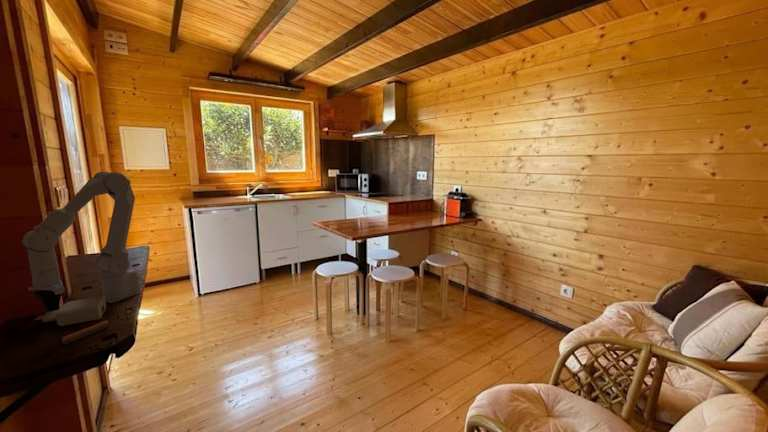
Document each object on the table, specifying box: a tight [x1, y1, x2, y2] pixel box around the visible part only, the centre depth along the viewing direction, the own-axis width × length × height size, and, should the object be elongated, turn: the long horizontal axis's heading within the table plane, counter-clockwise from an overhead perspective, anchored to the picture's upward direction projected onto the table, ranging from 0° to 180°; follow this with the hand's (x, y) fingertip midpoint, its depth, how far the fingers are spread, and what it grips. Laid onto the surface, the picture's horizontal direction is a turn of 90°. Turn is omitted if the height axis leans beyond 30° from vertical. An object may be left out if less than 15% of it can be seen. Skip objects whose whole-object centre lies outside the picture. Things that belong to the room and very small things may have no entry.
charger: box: [34, 295, 107, 327], centre depth 98 cm, size 5×9×15 cm
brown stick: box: [61, 320, 110, 345], centre depth 90 cm, size 10×1×2 cm, turn 156°
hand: (52, 311), depth 99 cm, fingers closed
